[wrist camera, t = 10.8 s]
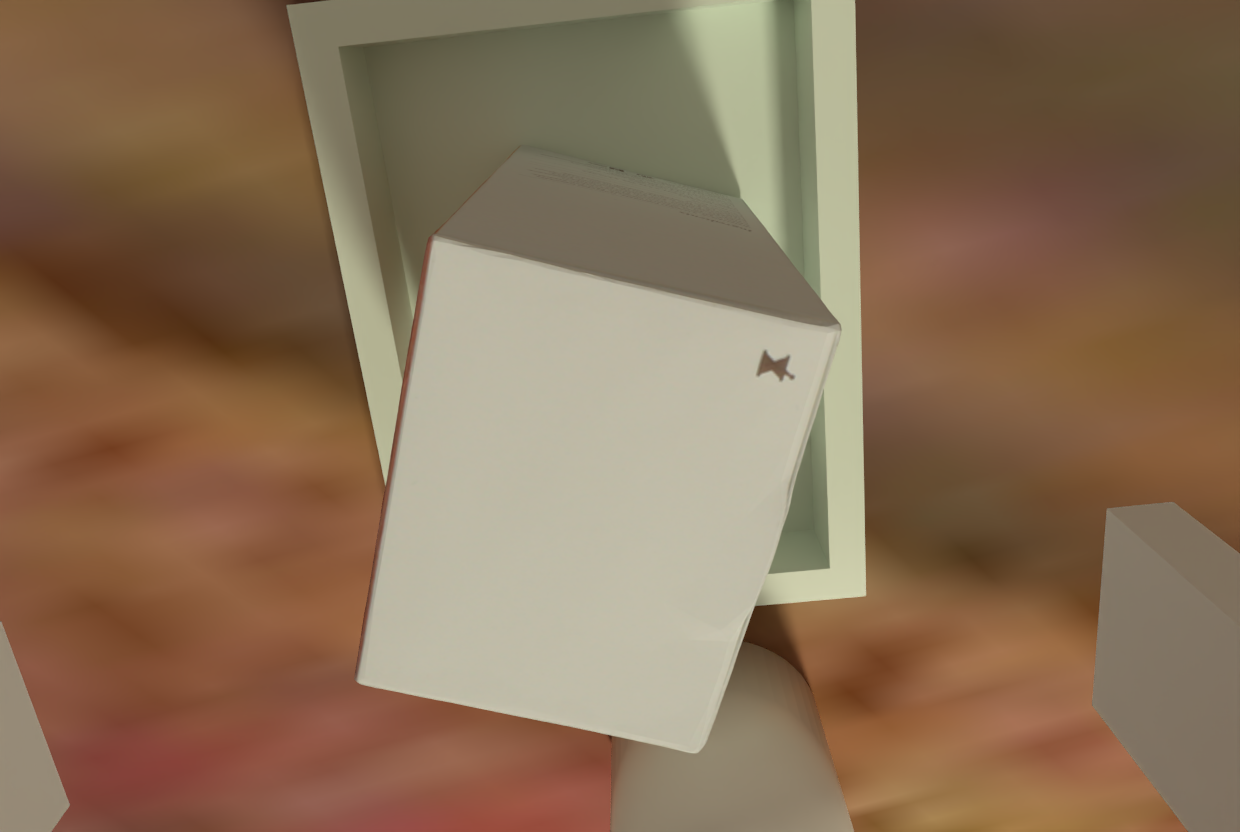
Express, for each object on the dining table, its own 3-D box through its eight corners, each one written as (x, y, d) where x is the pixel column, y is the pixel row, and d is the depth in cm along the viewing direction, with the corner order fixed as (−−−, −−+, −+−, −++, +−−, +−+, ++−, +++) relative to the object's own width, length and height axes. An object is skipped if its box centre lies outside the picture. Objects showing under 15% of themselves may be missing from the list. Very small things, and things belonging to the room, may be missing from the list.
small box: (517, 139, 26) (424, 219, 14) (748, 196, 26) (859, 321, 14) (463, 419, 29) (345, 693, 16) (673, 465, 29) (712, 764, 17)
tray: (434, 583, 31) (416, 636, 28) (323, 10, 25) (286, 5, 22) (843, 546, 31) (865, 596, 28) (827, -48, 25) (853, -60, 22)
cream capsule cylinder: (622, 816, 35) (622, 1028, 27) (601, 648, 32) (594, 830, 25) (821, 800, 34) (877, 1010, 27) (814, 630, 32) (874, 808, 24)
